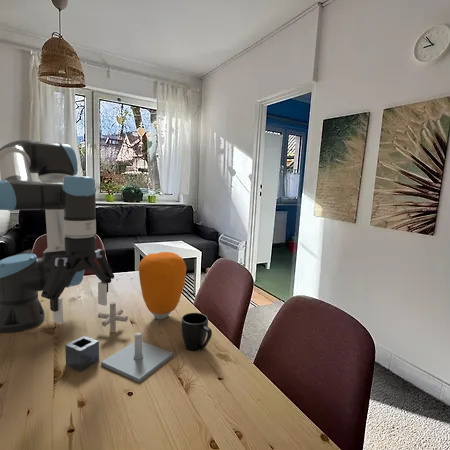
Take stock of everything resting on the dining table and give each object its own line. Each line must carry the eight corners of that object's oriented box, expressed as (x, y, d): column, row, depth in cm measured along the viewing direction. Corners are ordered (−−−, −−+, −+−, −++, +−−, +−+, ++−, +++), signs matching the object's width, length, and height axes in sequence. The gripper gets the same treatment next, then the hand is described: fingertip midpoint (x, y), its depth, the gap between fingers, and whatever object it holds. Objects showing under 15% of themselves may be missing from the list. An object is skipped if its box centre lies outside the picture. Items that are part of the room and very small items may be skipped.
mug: (196, 363, 87) (197, 332, 86) (176, 344, 97) (176, 316, 95) (219, 354, 93) (220, 324, 91) (197, 337, 102) (198, 310, 100)
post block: (101, 365, 84) (100, 338, 83) (137, 342, 97) (137, 318, 96) (139, 382, 78) (139, 353, 77) (173, 356, 90) (173, 330, 89)
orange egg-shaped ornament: (170, 305, 127) (172, 246, 123) (193, 320, 114) (195, 255, 110) (130, 315, 116) (131, 250, 112) (150, 333, 103) (152, 261, 99)
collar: (65, 364, 84) (65, 344, 83) (84, 354, 89) (84, 335, 88) (80, 372, 81) (79, 351, 80) (99, 361, 86) (98, 341, 85)
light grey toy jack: (118, 340, 97) (118, 311, 96) (90, 336, 99) (90, 307, 98) (133, 326, 107) (133, 299, 106) (108, 322, 109) (107, 295, 107)
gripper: (41, 244, 67) (45, 335, 70) (126, 231, 89) (126, 300, 92) (22, 240, 71) (26, 327, 73) (108, 228, 92) (109, 295, 95)
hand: (82, 312), depth 83 cm, fingers open, 13 cm apart
